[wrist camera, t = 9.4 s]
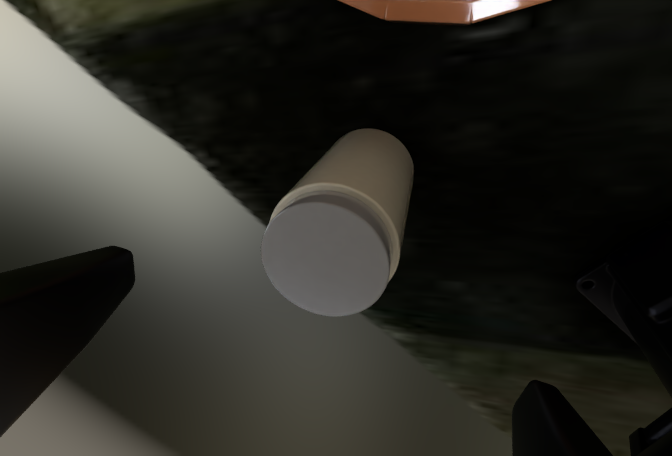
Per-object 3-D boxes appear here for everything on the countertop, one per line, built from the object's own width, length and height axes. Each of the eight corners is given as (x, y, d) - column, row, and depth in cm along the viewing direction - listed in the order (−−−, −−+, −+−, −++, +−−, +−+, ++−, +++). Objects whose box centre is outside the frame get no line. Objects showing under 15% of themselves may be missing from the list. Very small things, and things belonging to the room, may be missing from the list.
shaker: (434, 171, 18) (429, 268, 10) (373, 229, 20) (334, 343, 13) (363, 107, 17) (307, 163, 10) (309, 175, 19) (229, 261, 12)
